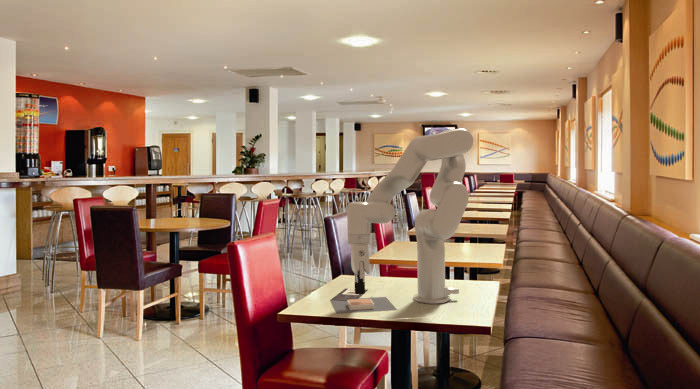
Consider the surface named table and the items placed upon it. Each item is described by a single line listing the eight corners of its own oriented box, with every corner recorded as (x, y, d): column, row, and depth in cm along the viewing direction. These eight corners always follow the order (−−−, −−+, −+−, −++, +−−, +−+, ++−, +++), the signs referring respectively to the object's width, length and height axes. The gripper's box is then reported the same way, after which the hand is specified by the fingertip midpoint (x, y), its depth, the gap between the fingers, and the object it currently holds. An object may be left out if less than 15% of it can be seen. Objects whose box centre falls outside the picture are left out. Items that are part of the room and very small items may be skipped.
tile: (370, 298, 191) (374, 303, 184) (370, 303, 191) (374, 308, 184) (347, 299, 189) (350, 304, 183) (347, 304, 190) (350, 310, 183)
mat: (385, 297, 200) (385, 296, 199) (397, 311, 182) (397, 309, 182) (329, 301, 197) (329, 299, 197) (336, 314, 179) (336, 313, 179)
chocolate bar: (330, 299, 196) (345, 288, 214) (330, 302, 196) (345, 290, 214) (355, 301, 194) (368, 289, 211) (355, 303, 194) (368, 292, 211)
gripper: (374, 241, 179) (374, 298, 180) (366, 235, 194) (367, 288, 195) (350, 242, 178) (351, 299, 179) (344, 236, 193) (345, 289, 194)
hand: (359, 293), depth 187 cm, fingers closed
